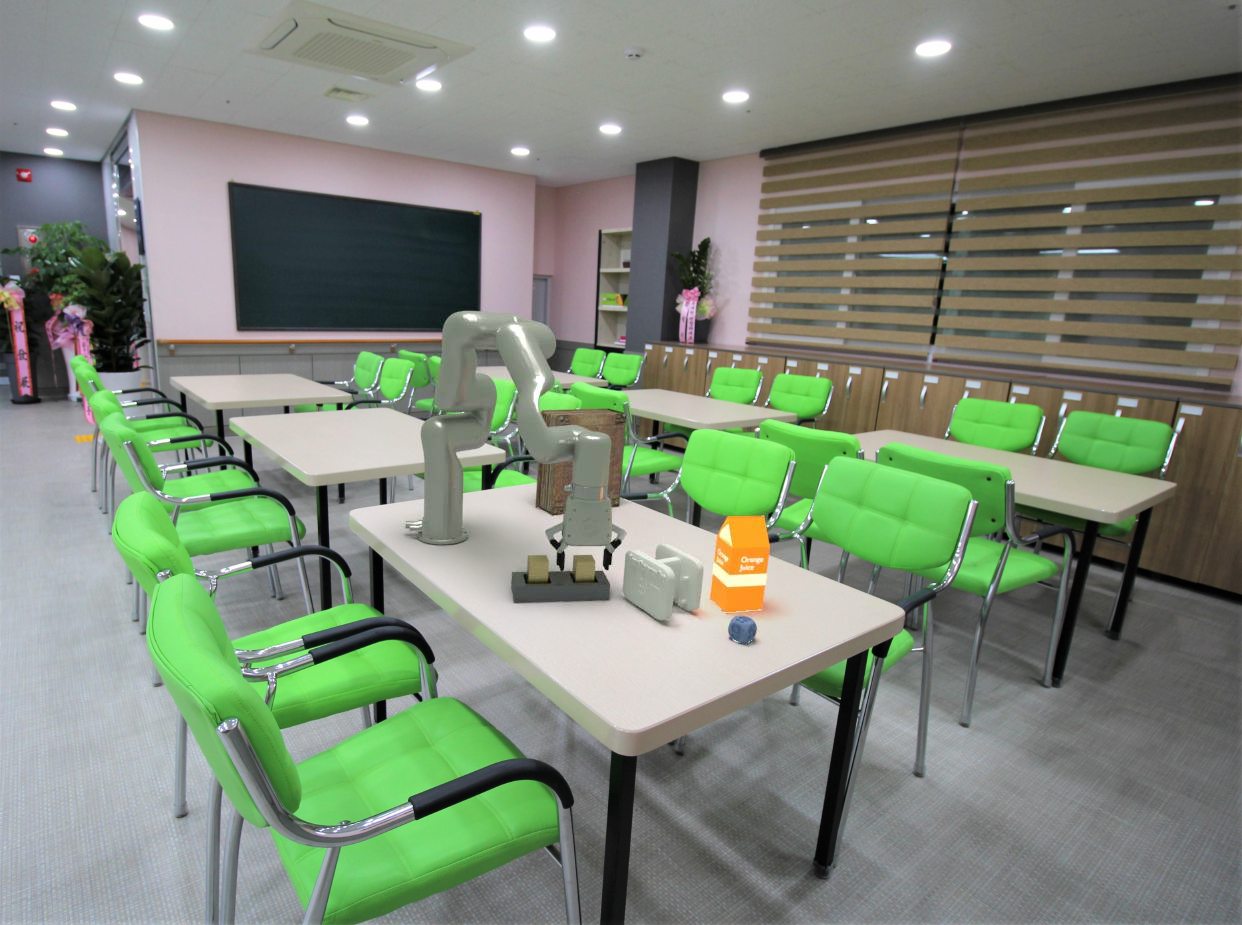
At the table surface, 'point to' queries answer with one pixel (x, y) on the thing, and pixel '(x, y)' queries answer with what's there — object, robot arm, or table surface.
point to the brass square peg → (583, 569)
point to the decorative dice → (742, 629)
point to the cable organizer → (663, 580)
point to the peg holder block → (555, 584)
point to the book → (560, 473)
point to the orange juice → (740, 564)
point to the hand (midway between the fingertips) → (583, 568)
